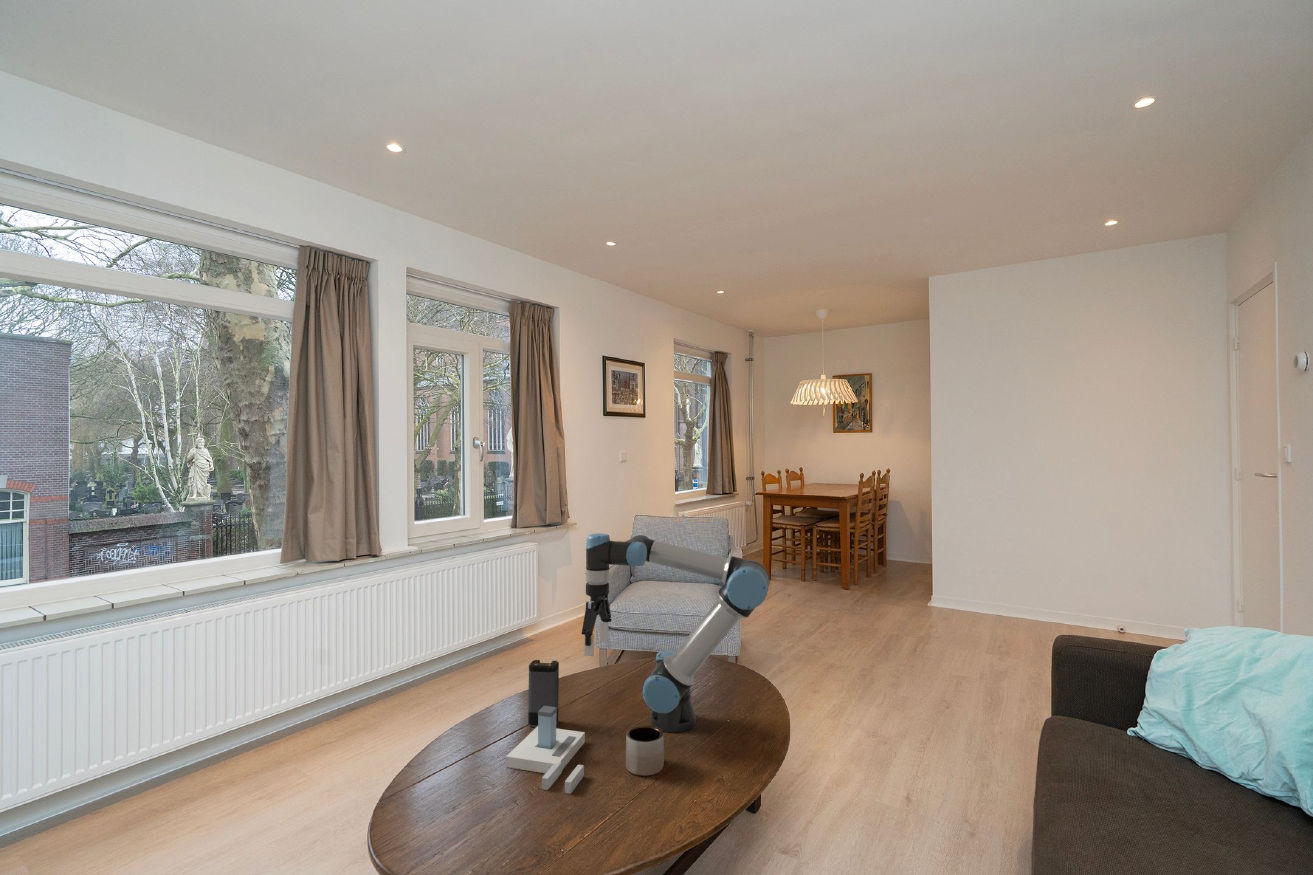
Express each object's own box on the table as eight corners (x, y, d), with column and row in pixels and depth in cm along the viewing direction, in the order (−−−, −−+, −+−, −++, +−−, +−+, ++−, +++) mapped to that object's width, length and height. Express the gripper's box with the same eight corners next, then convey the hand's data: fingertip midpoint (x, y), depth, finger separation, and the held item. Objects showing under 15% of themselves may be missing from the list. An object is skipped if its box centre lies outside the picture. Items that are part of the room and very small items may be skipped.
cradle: (583, 776, 167) (583, 765, 168) (570, 793, 159) (570, 782, 159) (556, 771, 170) (556, 760, 170) (541, 788, 161) (541, 777, 161)
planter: (668, 761, 176) (668, 728, 176) (656, 780, 166) (656, 745, 166) (633, 754, 180) (634, 722, 180) (619, 773, 169) (620, 738, 170)
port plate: (584, 742, 187) (585, 730, 187) (557, 775, 168) (557, 762, 168) (537, 735, 191) (537, 724, 192) (506, 766, 172) (506, 754, 172)
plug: (556, 751, 181) (556, 707, 182) (550, 758, 177) (550, 712, 177) (543, 749, 182) (544, 705, 183) (537, 756, 178) (537, 711, 179)
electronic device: (559, 720, 202) (560, 660, 203) (554, 728, 196) (555, 666, 197) (532, 719, 203) (533, 659, 204) (526, 727, 197) (527, 665, 198)
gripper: (600, 574, 208) (599, 636, 207) (571, 589, 184) (570, 660, 183) (620, 575, 206) (620, 638, 205) (594, 591, 182) (593, 662, 181)
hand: (596, 648), depth 194 cm, fingers open, 13 cm apart
